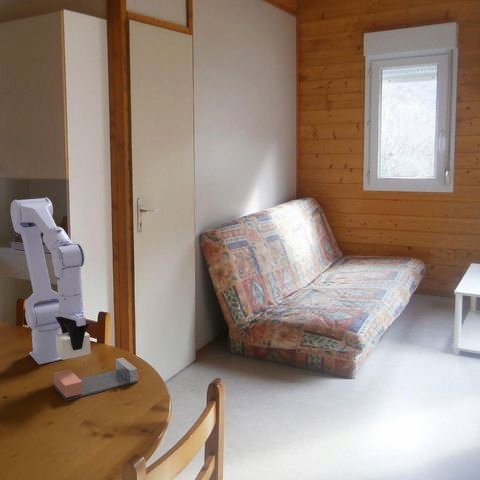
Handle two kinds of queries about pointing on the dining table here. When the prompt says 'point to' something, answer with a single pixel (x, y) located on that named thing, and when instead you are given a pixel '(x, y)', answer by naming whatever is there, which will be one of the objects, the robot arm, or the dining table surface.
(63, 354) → the block
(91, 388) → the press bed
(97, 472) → the dining table surface
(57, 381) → the block
